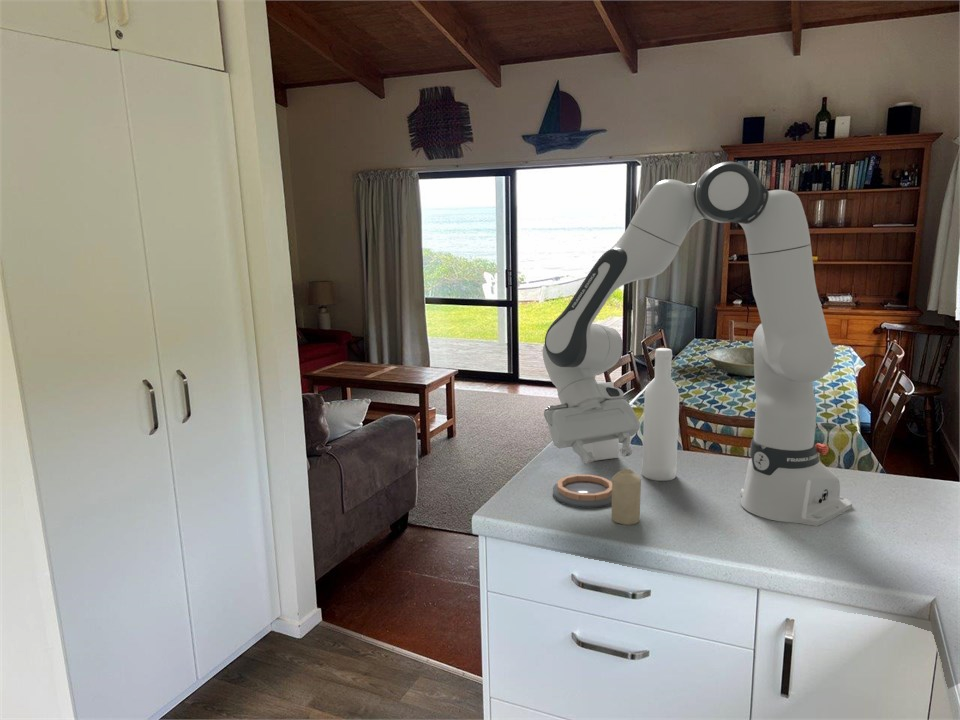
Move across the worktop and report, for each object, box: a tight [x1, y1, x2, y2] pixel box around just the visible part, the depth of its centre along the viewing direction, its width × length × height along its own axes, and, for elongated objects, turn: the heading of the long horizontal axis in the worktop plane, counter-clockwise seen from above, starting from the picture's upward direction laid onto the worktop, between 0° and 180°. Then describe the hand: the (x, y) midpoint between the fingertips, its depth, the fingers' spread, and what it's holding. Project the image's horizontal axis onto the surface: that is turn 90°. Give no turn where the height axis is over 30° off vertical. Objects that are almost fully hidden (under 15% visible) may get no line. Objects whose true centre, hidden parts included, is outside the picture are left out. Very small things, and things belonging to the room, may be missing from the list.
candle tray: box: [552, 474, 612, 509], centre depth 144 cm, size 14×14×2 cm
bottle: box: [641, 347, 680, 482], centre depth 153 cm, size 8×8×30 cm
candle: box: [610, 468, 642, 526], centre depth 131 cm, size 6×6×10 cm
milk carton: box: [582, 381, 620, 462], centre depth 168 cm, size 7×7×19 cm
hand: (609, 458), depth 135 cm, fingers open, 8 cm apart
